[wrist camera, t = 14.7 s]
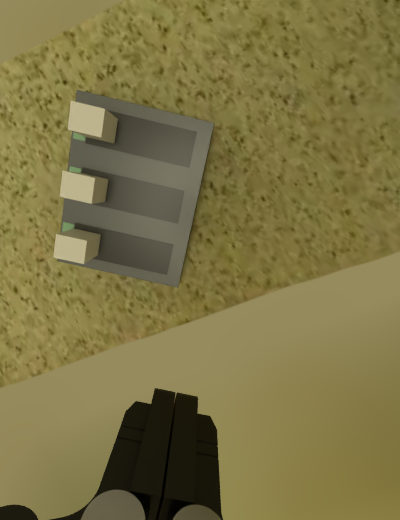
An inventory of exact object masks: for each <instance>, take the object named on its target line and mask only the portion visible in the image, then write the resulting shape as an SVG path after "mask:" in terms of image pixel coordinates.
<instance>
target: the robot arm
mask: <svg viewBox="0 0 400 520" xmlns="http://www.w3.org/2000/svg"><path fill="white" fill-rule="evenodd" d="M174 400H175V402H174ZM197 408H198V397H196V396H191V395H187V394H182V393H177V394H176V398H175V392H172V391H167V390H162V389H156V388H155V391H154V395H153V399H152V403H151V404H147V403H143V402H137V401H136V402H135V403H134V404H133V405H132V406H131V407H130V408H129V409H128V410H127V411H126V412H125V415H124V418H123V421H122V424H121V427H120V429H119V432H118V435H117V439H116V441H115V444H114V447H113V450H112V452H111V455H110V458H109V461H108V464H107V467H106V469H105V472H104V475H103V478H102V481H101V484H100V487H99V489H98V491H97V493H96V494H95V496H94V497H93V499H92V500H91V501H90V502H89V503H88V504H87V505H86V506H85V507H84V508H82V509H81V510H79V511H78V512H76V513H74V514H71V515H69V516H66V517H62V518H57V519H51V520H223V518H222V514H221V503H220V502H221V500H220V481H219V463H218V462H219V461H218V447H217V445H218V443H217V429H216V427H215V425H214V423H213V421H212V419H211V417H210V416H207V415H202V414H197ZM0 520H38V518H37V516H36V515H35V513H34V512H33V511H32V510H30V509H29V508H27V507H25V506H21V505H7V506H3V507H0Z"/></svg>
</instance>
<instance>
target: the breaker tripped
mask: <svg viewBox="0 0 400 520" xmlns="http://www.w3.org/2000/svg"><path fill="white" fill-rule="evenodd" d="M107 186H108V179H106V178H101V177H97V176H93V175H88V174H84V173H79V172H70V171H63V172H62V181H61V190H60V197H63V198H68V199H72V200H77V201H81V202H85V203H90V204H94V203H101V202H105V200H106V193H107Z"/></svg>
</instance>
